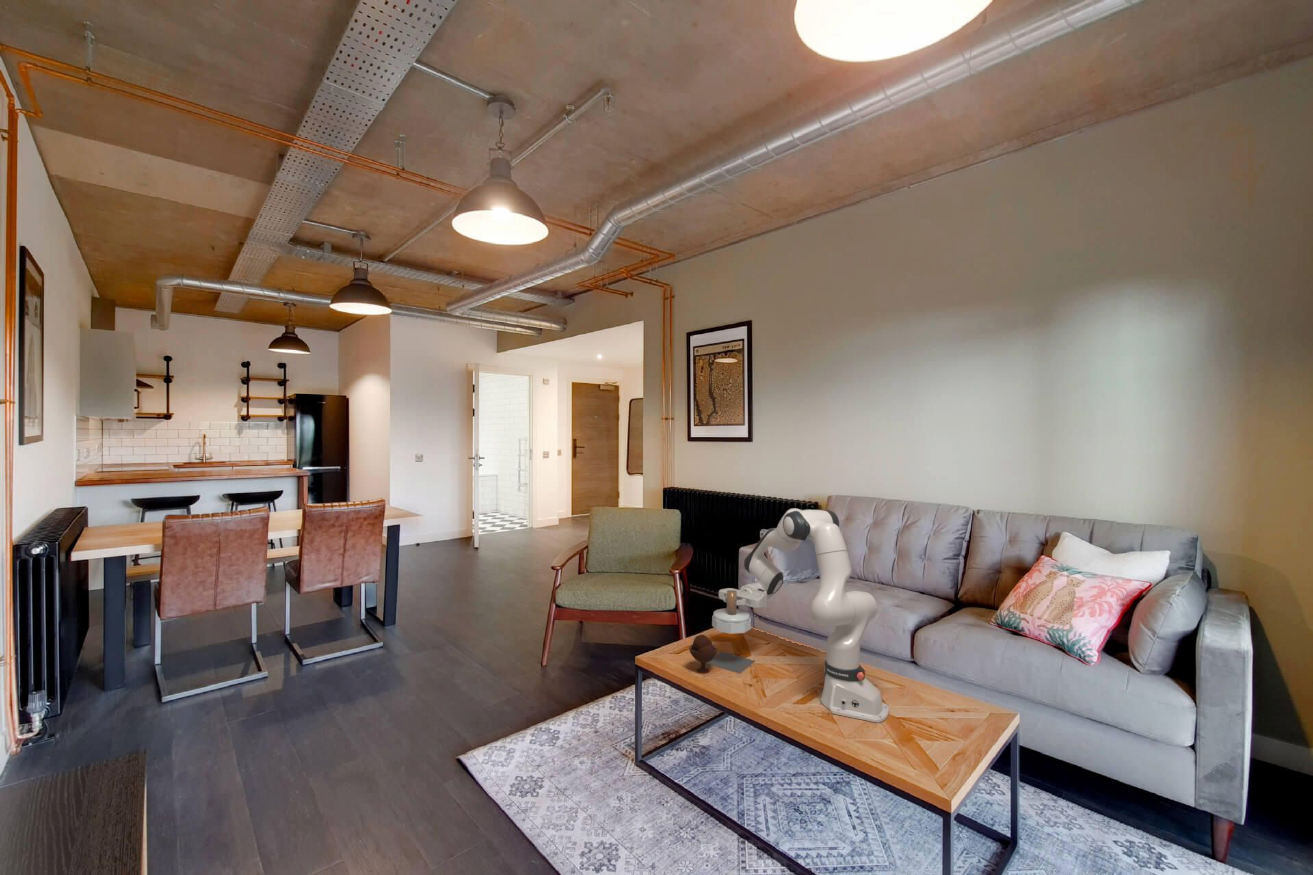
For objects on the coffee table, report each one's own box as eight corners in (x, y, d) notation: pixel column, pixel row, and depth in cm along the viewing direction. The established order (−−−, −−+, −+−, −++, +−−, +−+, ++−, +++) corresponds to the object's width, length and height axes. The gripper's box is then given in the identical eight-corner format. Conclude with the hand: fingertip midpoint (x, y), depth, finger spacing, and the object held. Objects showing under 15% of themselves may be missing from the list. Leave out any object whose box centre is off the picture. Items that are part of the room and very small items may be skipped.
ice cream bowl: (718, 678, 216) (719, 639, 216) (689, 677, 216) (690, 638, 216) (715, 666, 227) (716, 629, 226) (688, 666, 227) (689, 629, 227)
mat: (755, 661, 232) (755, 660, 232) (740, 674, 220) (740, 673, 220) (721, 652, 241) (721, 651, 241) (704, 664, 228) (704, 663, 228)
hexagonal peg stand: (755, 625, 232) (755, 590, 232) (740, 635, 220) (740, 598, 220) (723, 618, 240) (723, 584, 240) (707, 628, 228) (707, 592, 228)
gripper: (729, 582, 246) (710, 588, 236) (770, 592, 232) (751, 598, 222) (729, 597, 246) (710, 603, 236) (770, 607, 232) (751, 614, 222)
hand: (730, 601), depth 229 cm, fingers closed on hexagonal peg stand, 4 cm apart
